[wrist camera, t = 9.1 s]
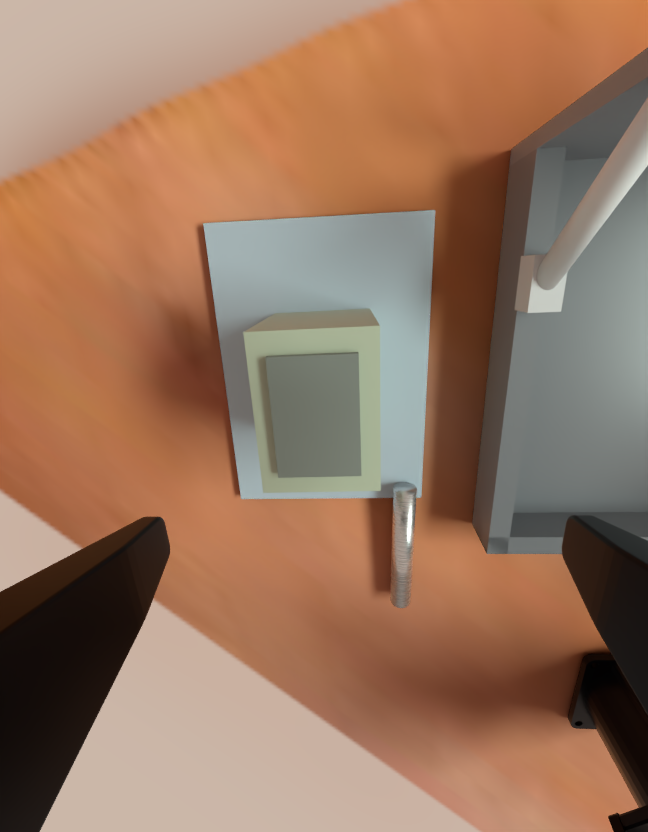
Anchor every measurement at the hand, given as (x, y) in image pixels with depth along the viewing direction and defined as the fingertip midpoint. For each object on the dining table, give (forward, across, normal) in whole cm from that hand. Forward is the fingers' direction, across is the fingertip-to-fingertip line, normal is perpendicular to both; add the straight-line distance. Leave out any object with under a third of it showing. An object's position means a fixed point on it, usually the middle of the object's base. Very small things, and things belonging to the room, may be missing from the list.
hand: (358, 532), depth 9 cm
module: (+11, +1, -1) cm, 11 cm away
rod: (+12, -2, +9) cm, 15 cm away
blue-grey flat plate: (+12, +1, -1) cm, 12 cm away
